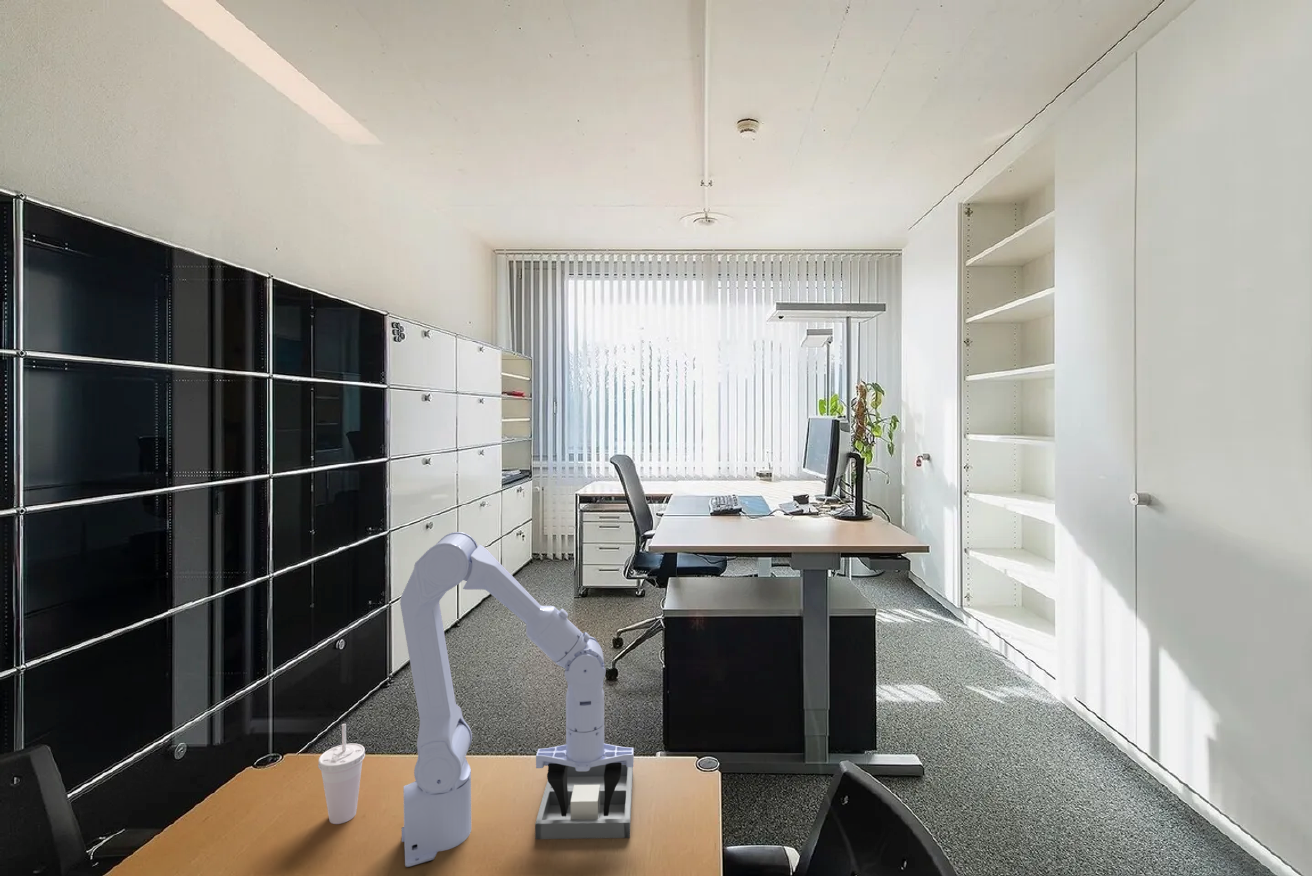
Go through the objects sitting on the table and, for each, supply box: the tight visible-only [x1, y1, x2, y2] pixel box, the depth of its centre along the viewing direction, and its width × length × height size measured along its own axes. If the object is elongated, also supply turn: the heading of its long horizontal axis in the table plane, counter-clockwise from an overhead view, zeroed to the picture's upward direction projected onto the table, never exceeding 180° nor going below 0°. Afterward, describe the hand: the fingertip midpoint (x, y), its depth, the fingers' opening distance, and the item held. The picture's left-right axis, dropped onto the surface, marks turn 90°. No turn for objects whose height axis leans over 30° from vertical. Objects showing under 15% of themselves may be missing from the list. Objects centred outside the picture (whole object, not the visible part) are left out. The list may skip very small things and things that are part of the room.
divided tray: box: [534, 765, 634, 840], centre depth 91 cm, size 14×16×3 cm
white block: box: [571, 785, 600, 820], centre depth 88 cm, size 4×4×4 cm
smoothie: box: [317, 723, 366, 825], centre depth 90 cm, size 6×6×14 cm
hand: (585, 812), depth 88 cm, fingers open, 6 cm apart
